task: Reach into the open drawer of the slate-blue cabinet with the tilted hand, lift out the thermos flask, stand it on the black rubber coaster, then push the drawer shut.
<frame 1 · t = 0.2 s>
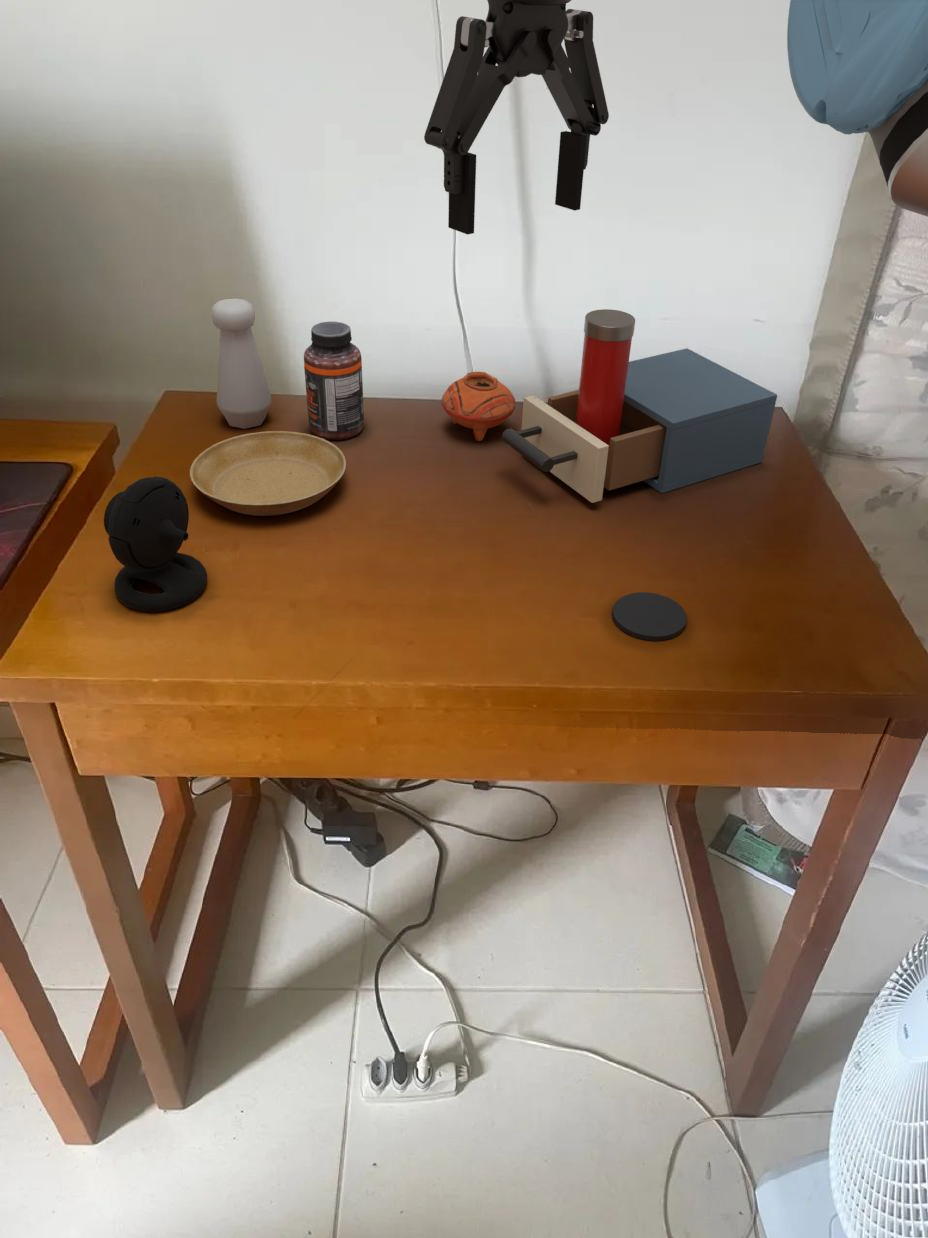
hand: (516, 218, 92), 23 cm above the table, tool pointing down, fingers open, 13 cm apart
supplement bottle: (336, 431, 106), on the table
cabinet: (669, 449, 104), on the table
pot: (477, 431, 107), on the table
salt shaker: (246, 421, 107), on the table
coaster: (648, 618, 80), on the table
webcam: (162, 589, 82), on the table
thermos flask: (594, 454, 99), point 2 cm above the table, touching drawer
plant saucer: (271, 490, 96), on the table
drawer: (591, 439, 97), point 4 cm above the table, slide at 7.0 cm, touching thermos flask
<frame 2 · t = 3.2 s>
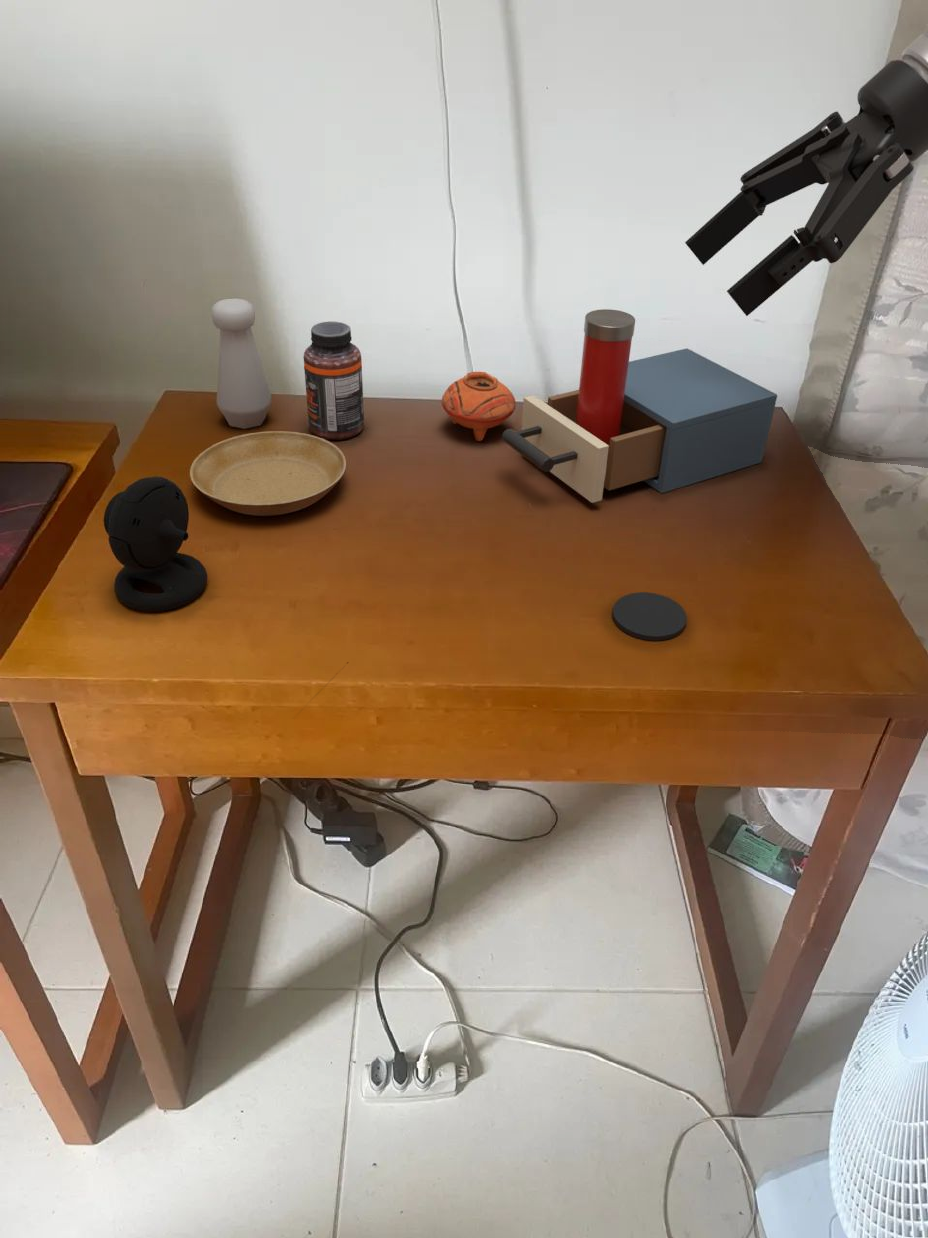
hand: (713, 277, 89), 20 cm above the table, tool tilted 45°, fingers open, 13 cm apart
nothing on the table moved.
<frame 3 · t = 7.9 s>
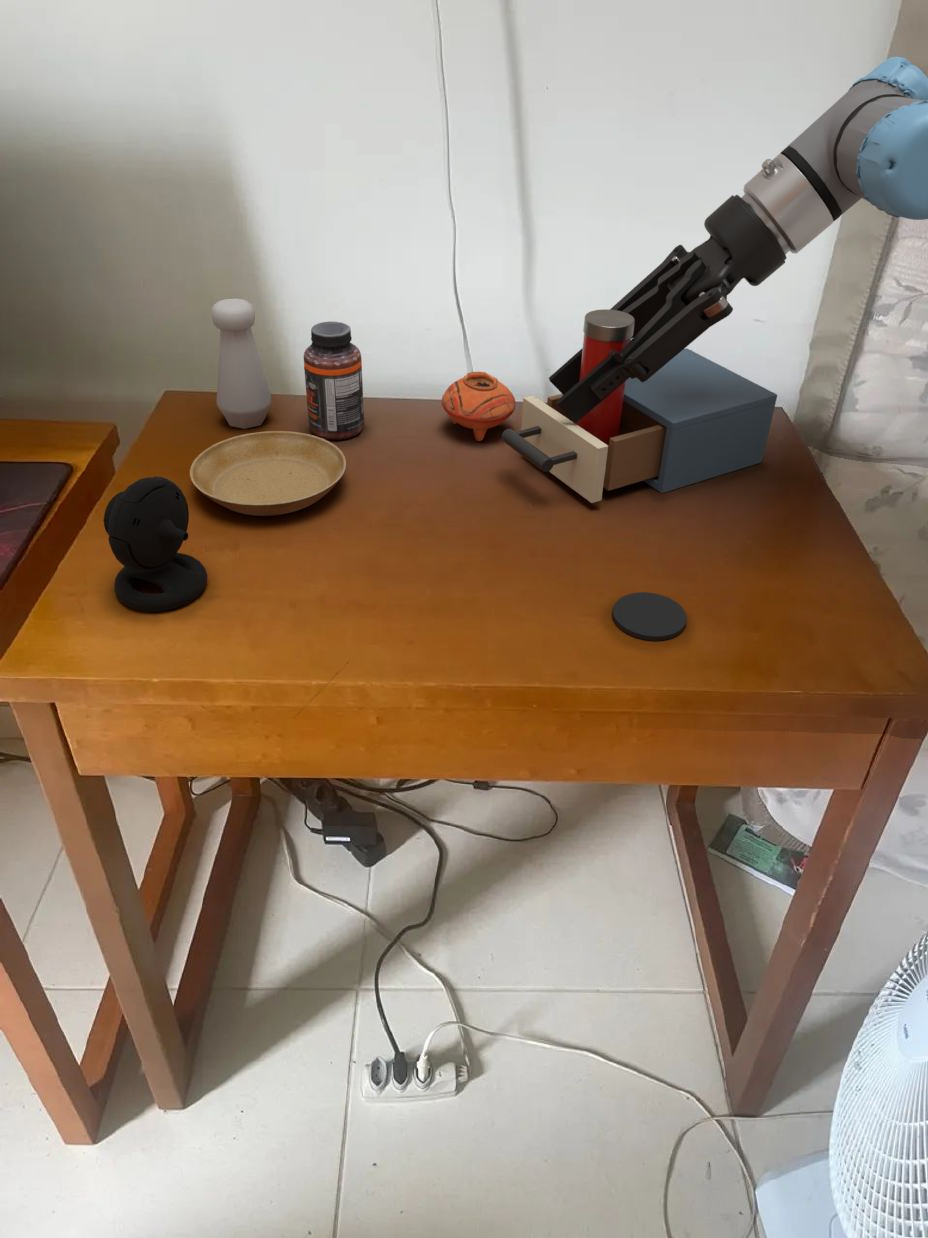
hand: (562, 399, 95), 8 cm above the table, tool tilted 45°, fingers open, 5 cm apart
drawer: (590, 439, 97), point 4 cm above the table, slide at 7.1 cm, touching gripper, thermos flask
everything else where it was.
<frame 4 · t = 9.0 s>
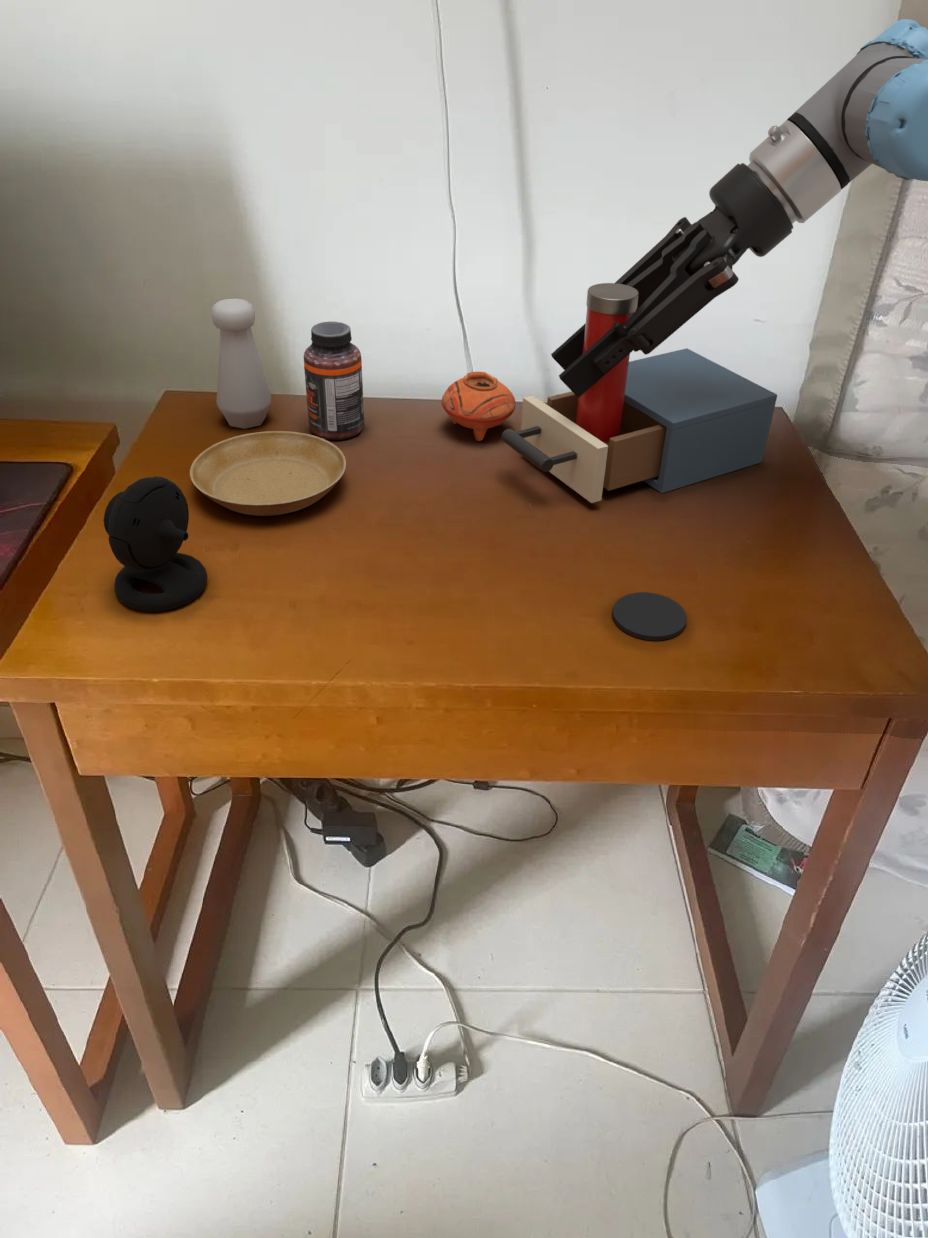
hand: (564, 375, 93), 10 cm above the table, tool tilted 45°, fingers closed on thermos flask, 4 cm apart
thermos flask: (597, 432, 97), point 4 cm above the table, touching gripper
drawer: (590, 439, 97), point 4 cm above the table, slide at 7.1 cm
everything else where it was.
when the fingers open (6 cm above the table, at t = 18.4 s): thermos flask stays where it is, resting on coaster.
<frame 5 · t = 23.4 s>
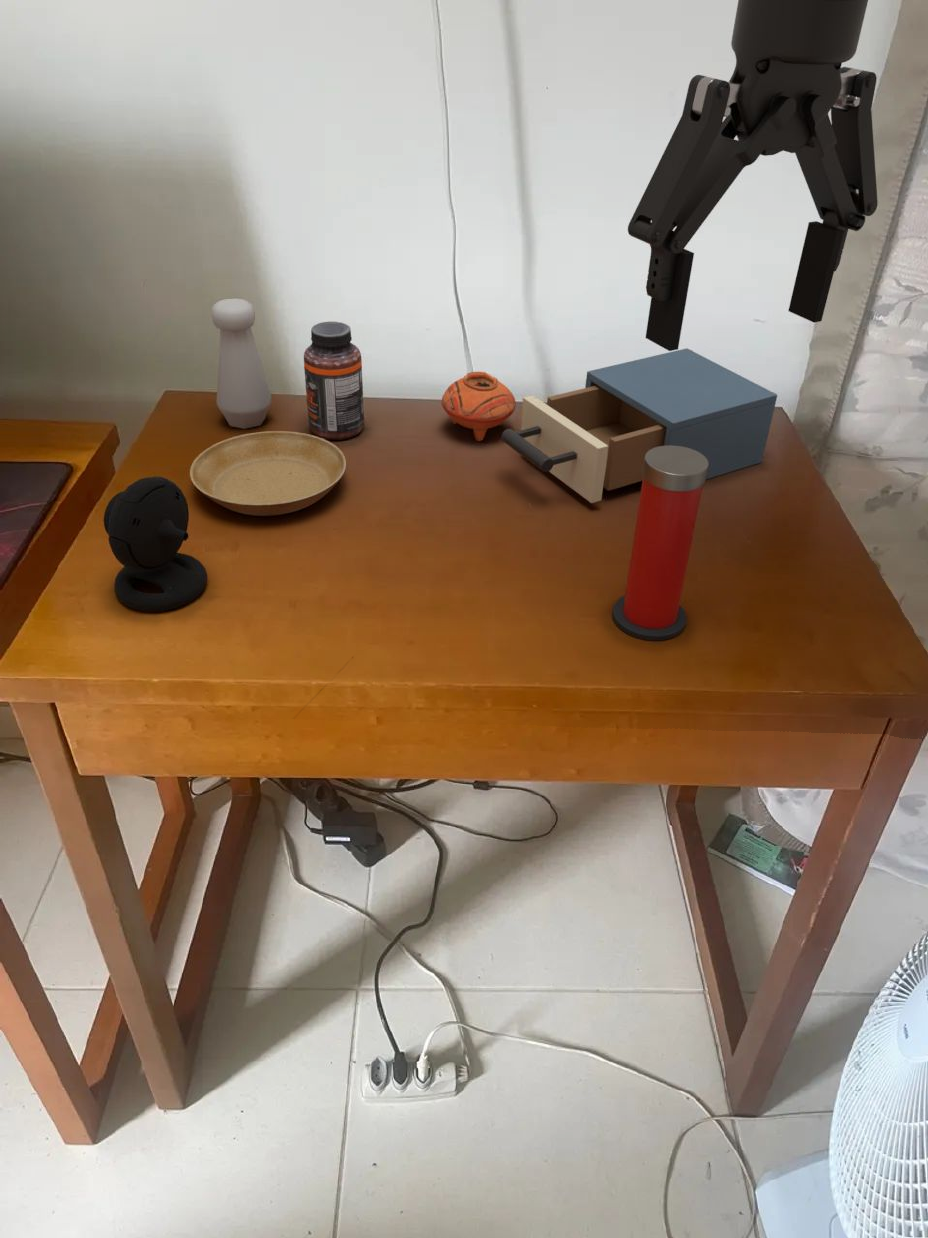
hand: (735, 329, 71), 22 cm above the table, tool pointing down, fingers open, 13 cm apart
thermos flask: (649, 612, 80), resting on coaster
everything else where it was.
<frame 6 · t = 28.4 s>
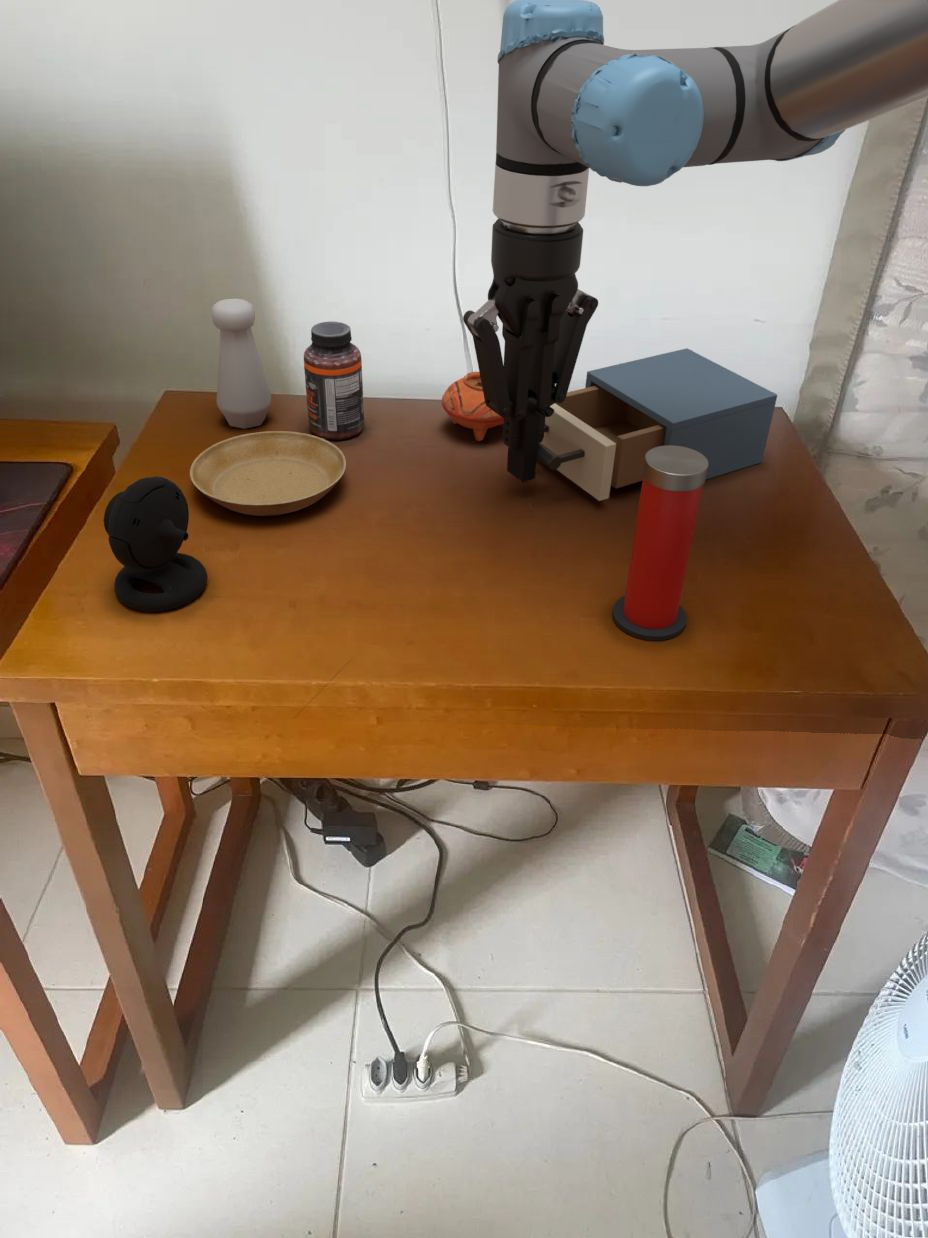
hand: (520, 474, 95), 2 cm above the table, tool pointing down, fingers closed
drawer: (597, 437, 98), point 4 cm above the table, slide at 6.2 cm, touching gripper
everything else where it was.
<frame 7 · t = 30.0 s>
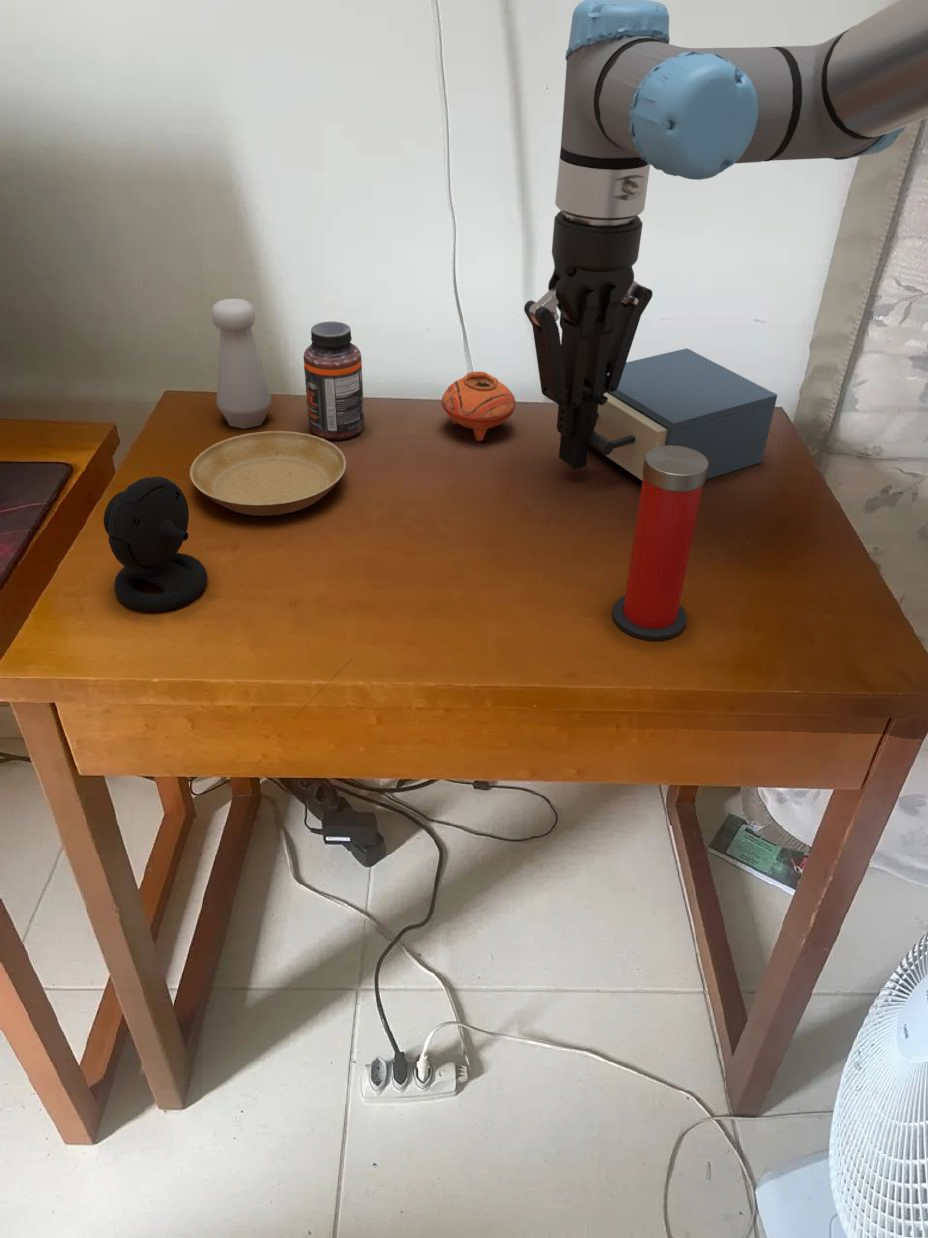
hand: (572, 461, 98), 2 cm above the table, tool pointing down, fingers closed
drawer: (646, 424, 100), point 4 cm above the table, slide at 0.0 cm, touching cabinet, gripper
everything else where it was.
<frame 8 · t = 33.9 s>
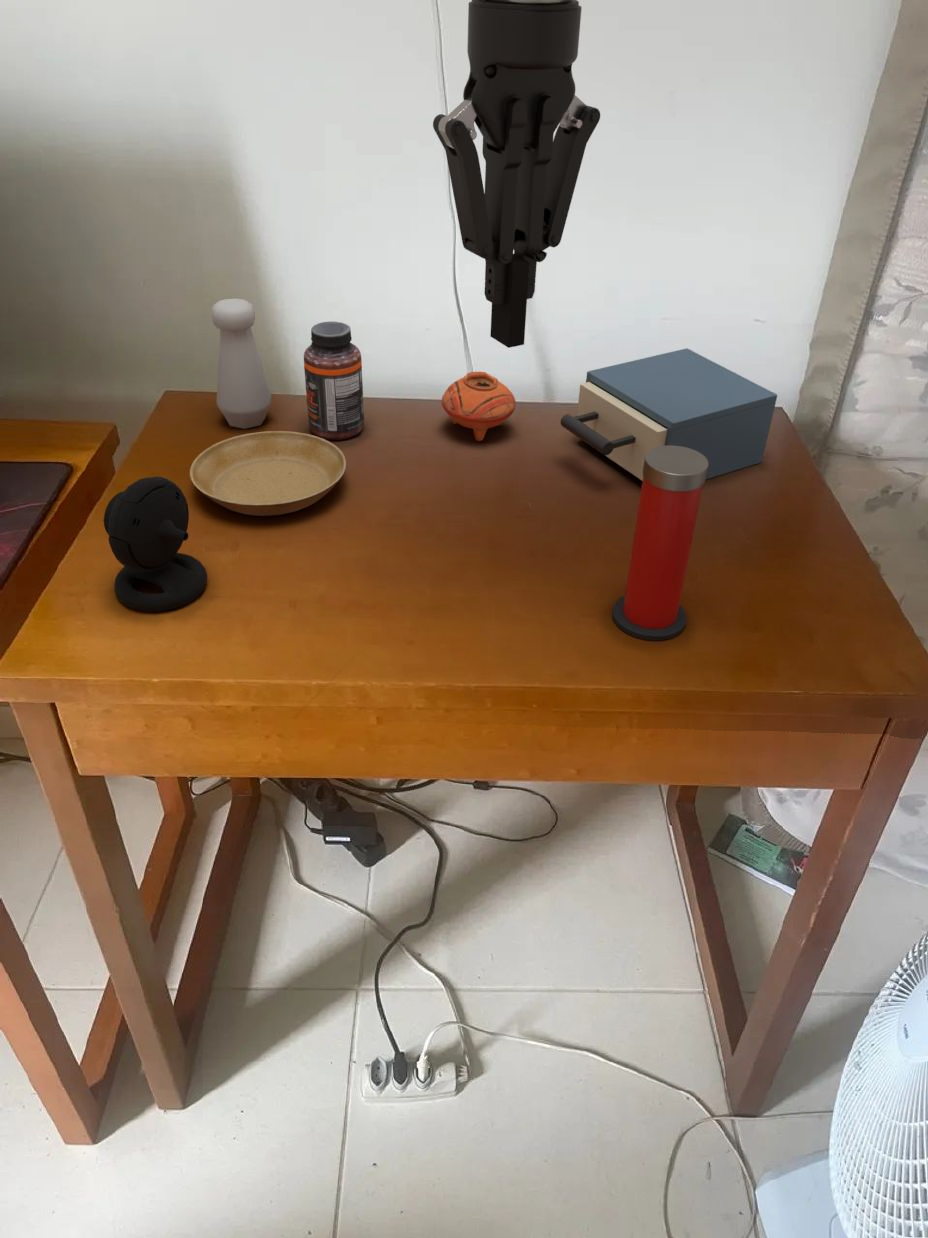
hand: (507, 340, 79), 18 cm above the table, tool pointing down, fingers closed
drawer: (646, 424, 100), point 4 cm above the table, slide at 0.0 cm, touching cabinet
everything else where it was.
at the end: thermos flask 0.1 cm off-centre on the coaster, point 0.5 cm above the coaster's base; thermos flask tilted 0°; drawer slide at 0.0 cm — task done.
